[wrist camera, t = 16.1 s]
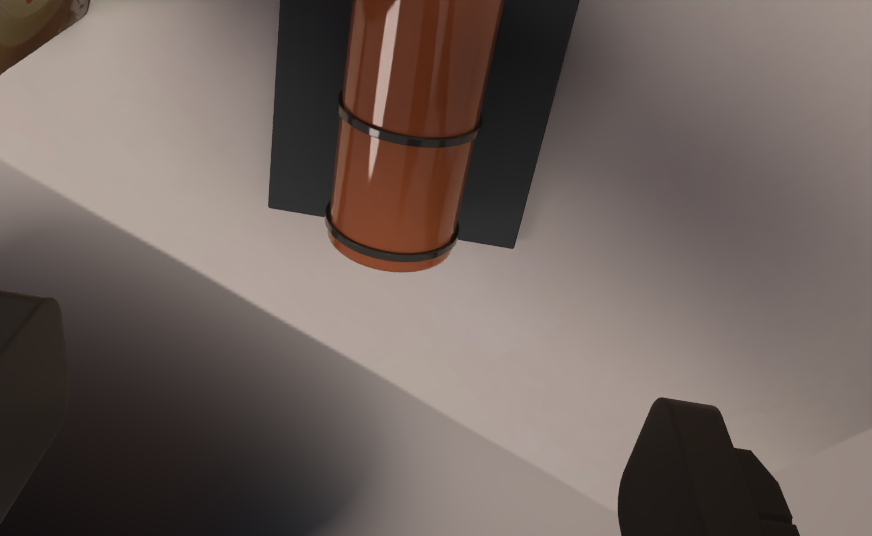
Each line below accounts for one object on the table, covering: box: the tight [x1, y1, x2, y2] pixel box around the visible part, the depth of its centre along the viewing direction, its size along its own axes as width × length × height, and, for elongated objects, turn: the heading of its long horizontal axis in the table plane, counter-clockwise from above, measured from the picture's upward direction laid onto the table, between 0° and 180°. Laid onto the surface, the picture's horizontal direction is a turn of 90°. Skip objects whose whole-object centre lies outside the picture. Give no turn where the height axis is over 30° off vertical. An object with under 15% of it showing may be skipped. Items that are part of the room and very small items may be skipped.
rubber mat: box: [268, 0, 579, 249], centre depth 27 cm, size 18×10×1 cm, turn 170°
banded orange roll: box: [325, 0, 505, 272], centre depth 25 cm, size 5×16×5 cm, turn 170°
